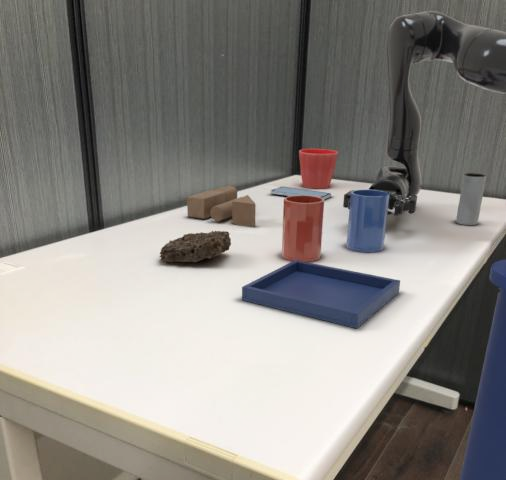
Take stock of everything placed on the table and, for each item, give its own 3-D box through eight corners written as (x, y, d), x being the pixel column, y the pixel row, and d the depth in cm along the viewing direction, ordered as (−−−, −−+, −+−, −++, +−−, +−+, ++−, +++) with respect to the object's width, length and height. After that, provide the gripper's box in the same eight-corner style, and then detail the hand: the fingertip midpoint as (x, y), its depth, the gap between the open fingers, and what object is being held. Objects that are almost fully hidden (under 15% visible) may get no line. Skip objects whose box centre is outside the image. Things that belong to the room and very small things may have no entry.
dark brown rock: (237, 254, 101) (237, 226, 99) (218, 271, 93) (217, 241, 91) (177, 248, 104) (176, 220, 102) (153, 264, 96) (151, 234, 93)
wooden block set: (183, 192, 123) (225, 180, 138) (184, 218, 126) (225, 204, 140) (252, 200, 116) (289, 187, 131) (252, 227, 119) (288, 211, 133)
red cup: (327, 254, 102) (331, 198, 98) (309, 264, 97) (312, 205, 92) (293, 248, 105) (296, 193, 101) (274, 257, 100) (276, 200, 96)
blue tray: (398, 293, 85) (400, 280, 84) (356, 328, 73) (358, 314, 72) (294, 271, 93) (295, 259, 92) (241, 300, 81) (241, 286, 80)
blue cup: (388, 245, 108) (394, 192, 103) (375, 254, 102) (381, 198, 98) (355, 240, 111) (359, 188, 107) (340, 248, 106) (344, 193, 102)
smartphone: (321, 198, 144) (269, 190, 150) (320, 202, 144) (269, 194, 151) (332, 193, 149) (282, 186, 156) (332, 197, 150) (282, 189, 156)
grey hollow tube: (469, 220, 128) (477, 172, 123) (481, 224, 124) (490, 176, 119) (451, 221, 127) (459, 173, 122) (463, 226, 123) (471, 176, 118)
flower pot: (341, 189, 160) (344, 152, 156) (304, 190, 157) (306, 153, 153) (327, 182, 169) (329, 148, 165) (292, 183, 167) (293, 148, 162)
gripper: (356, 173, 124) (339, 185, 110) (424, 178, 119) (414, 191, 105) (353, 208, 127) (336, 224, 113) (419, 214, 122) (409, 231, 109)
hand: (374, 208), depth 109 cm, fingers open, 8 cm apart
